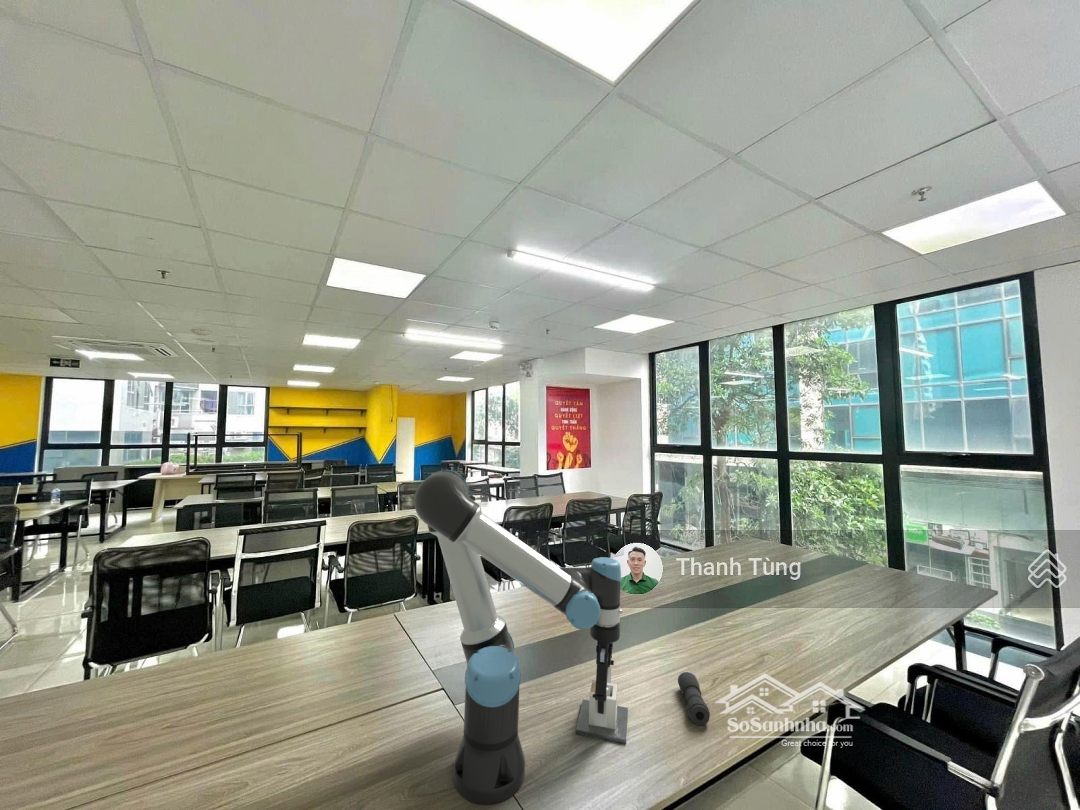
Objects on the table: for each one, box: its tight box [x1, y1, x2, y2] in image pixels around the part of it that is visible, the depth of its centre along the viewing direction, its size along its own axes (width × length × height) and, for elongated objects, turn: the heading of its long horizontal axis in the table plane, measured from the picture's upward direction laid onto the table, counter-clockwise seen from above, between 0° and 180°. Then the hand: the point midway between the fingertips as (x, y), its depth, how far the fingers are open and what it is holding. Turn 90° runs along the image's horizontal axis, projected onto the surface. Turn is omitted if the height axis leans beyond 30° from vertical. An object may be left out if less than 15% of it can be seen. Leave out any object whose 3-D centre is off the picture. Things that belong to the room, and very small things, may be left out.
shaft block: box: [575, 685, 629, 745], centre depth 106 cm, size 12×12×8 cm
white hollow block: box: [588, 679, 618, 729], centre depth 106 cm, size 6×6×7 cm
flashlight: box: [677, 670, 711, 726], centre depth 113 cm, size 15×5×5 cm, turn 172°
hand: (603, 707), depth 106 cm, fingers open, 13 cm apart
